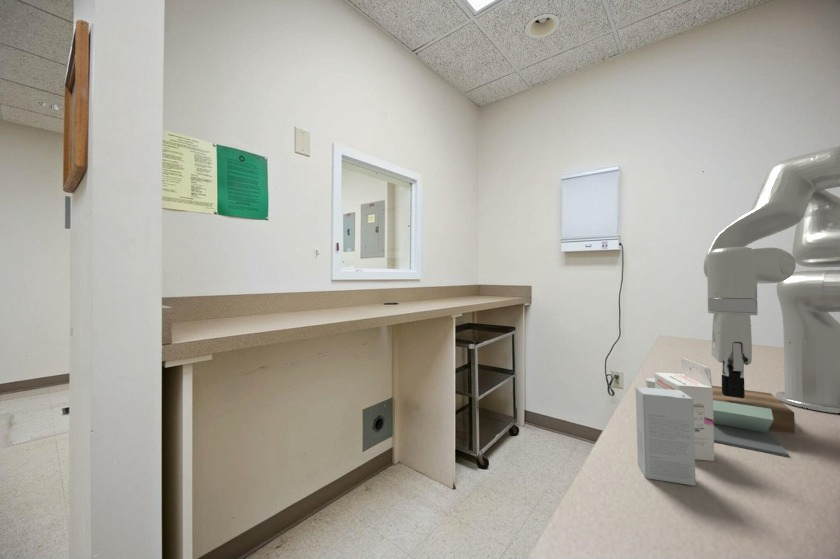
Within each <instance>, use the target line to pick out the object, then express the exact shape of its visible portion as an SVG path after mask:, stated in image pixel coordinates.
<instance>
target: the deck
mask: <svg viewBox="0 0 840 559" xmlns="http://www.w3.org/2000/svg"><path fill="white" fill-rule="evenodd" d="M712 388H713V400H716V401H723V402H729V403H736V404H742V405H749V406H755V407H762V408H769V409H771V410H772V415H773V422H772V424H771V426H770V428H769V430H768V431H774V432H779V433H780V432H781V433H786V434H792V435H795V434H796V431H795V430H796V428H795V426H796V425H795V424H796V423H795V412H794V411H793V410H792V409H791V408H789V407H788V406H787V405H786V404H785V403H784V402H782V401H780V400H778V399H777V398H776V395H774V394H772V392H764V391H757V390H756V391H755V390H747V389H744V392H745V397H744V398H736V397H729V396H724V395H723V393H722V386H718V385H712Z"/></svg>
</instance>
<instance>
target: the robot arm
mask: <svg viewBox="0 0 840 559" xmlns="http://www.w3.org/2000/svg"><path fill="white" fill-rule="evenodd" d="M839 187H840V145H836V146H833V147H829V148H825V149H821V150H817V151H813V152H809V153H807V154H803V155H798V156H794V157H791V158H788V159H785V160H782V161H780V162H778V163H776V164H775V165H774V166H772V167H771V168H770V169H769V170H768V172H767V174H766V176H765V178H764V179H763V182H762V185H761V187H760V189H759V191H758V193H757V196H756V198H755V200H754V202H753V205H752V207H751V209H750V210H749V211H748V212H746V213H745V214H742V215H741V216H740V217H738V218H737V219H736V220H735V221H733V222H731V224H729V225H728V226H726V227H725V228H724V229H722V230H721V231H720V232H719V233H717V235H716V236H715V238H714V239H713V241H712V242H711V244H710V246H709V249H708V251H707V253H706V255H705V257H704V261H703V273H704V276H705V277H706V278H707V313H708V314H712V315H713V317H712V326H711V327H712V333H711V356H712V357H713V358H714V360H716V361H717V362H718V363H721V373H722V374H721V387H722V393H723V395H724V396H729V397H736V398H744V397H745V392H744V390H745V378H744V377H745V376H744V374H745V366H748V365H750V364H752V359H753V345H752V344H753V343H752V342H753V341H752V340H753V338H752V336H753V335H752V324H751V323H752V322H751V321H752V320H751V316H758V284H776V283H777V284H776V294H777V298H778V302H779V305H780V310H781V314H782V315H781V316H782V326H783V328H782V330H783V331H782V332H783V365H784V367H783V368H784V371H783V372H784V375H783V376H784V391H777V392H776V393H775V397H776V398H777V399H778V400H779V401H781V402H782V403H784V404H788V405H791V406H795V407H800V408H802V407H803V408H804V409H807V408H808V409H807V410H813V411H817V412H818V411H819V412H824V413H830V414H831V413H832V414H838V413H840V322H839V321H838V320H837V319H836V318H835V317H833V316H832V315H831V314H830V313H840V269H826V270H825V269H823V270H822V269H821V270H803V271H796V267H797V266H796V264H797V265H799V266H801V267H806V268H840V197H839V196H837V195H835V194H833V193H831V192H829V191H828V189H829V190H830V189H834V188H839ZM794 226H795V233H794V237H793V242H792V253H790V252H788V251H787V250H784V249H782V248H779V247H760V248H758V247H757V248H752V247H747V246H749V245H750V244H752V243H754V242H757V241H759V240H762V239H764V238H768V237H769V236H772V235H775V234H778V233H780V232H783V231H786V230H788V229H789V228H792V227H794Z"/></svg>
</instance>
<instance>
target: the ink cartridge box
mask: <svg viewBox="0 0 840 559" xmlns="http://www.w3.org/2000/svg"><path fill="white" fill-rule="evenodd" d="M681 365H682V366H681V367H682V373H675V372H674V373H673V372H654V378H655V388H657V389H669V390H680V391H682V392H684V393H685V394H687V395H688V396H689V397H691V398H692V399H693V414H694V445H695V461H696V460H698V461H699V460H700V461H709V462H714V461H715V442H714V423H713V388H712V386H713V382H712V372H711V369H710V367H709V366H706V365H703V364H702V363H698V362H696V361H693V360H690V359H687V358H685V357H681ZM692 368H693V369H694V368H695V369H696V370H697V371H699V373H698V372H696V371H693V370H692Z"/></svg>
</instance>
